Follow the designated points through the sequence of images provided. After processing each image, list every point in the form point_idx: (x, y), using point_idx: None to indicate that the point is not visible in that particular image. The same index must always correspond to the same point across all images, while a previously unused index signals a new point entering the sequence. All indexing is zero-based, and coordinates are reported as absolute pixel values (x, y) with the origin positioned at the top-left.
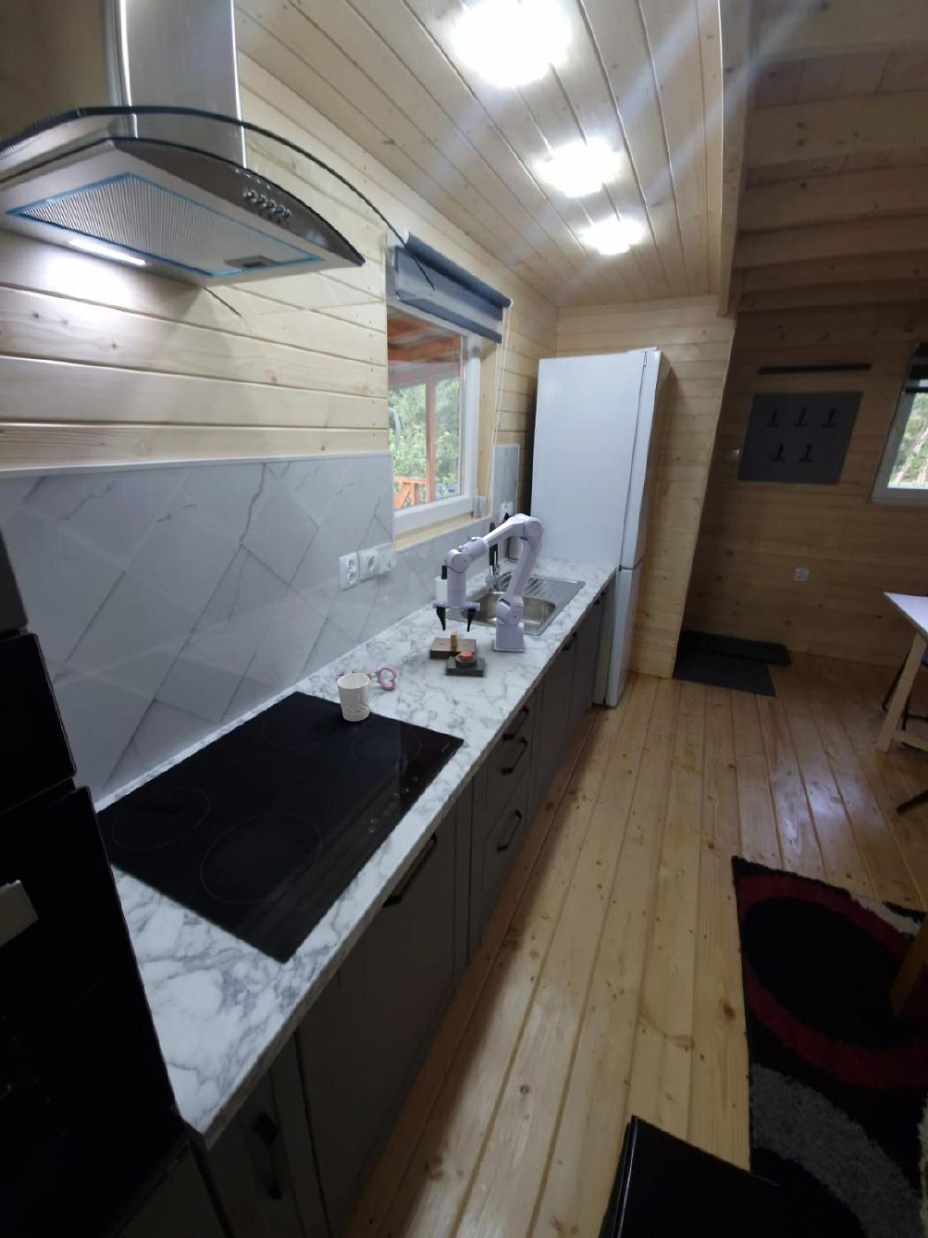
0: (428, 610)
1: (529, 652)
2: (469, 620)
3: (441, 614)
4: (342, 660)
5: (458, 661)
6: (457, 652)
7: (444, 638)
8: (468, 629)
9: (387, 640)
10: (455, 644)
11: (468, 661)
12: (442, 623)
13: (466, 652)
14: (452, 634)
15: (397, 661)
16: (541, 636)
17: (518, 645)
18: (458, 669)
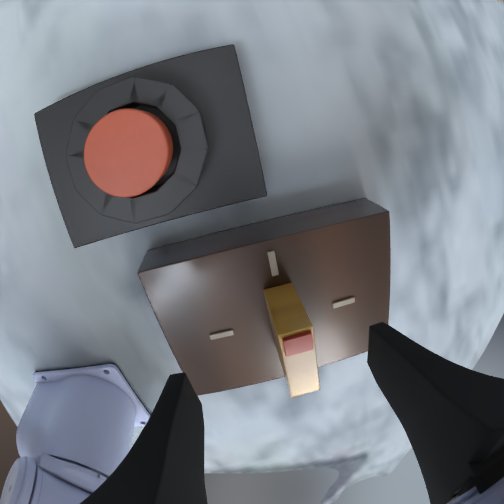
0: (397, 456)
1: (19, 374)
2: (144, 463)
3: (495, 408)
4: None
5: (164, 81)
6: (233, 245)
7: (344, 353)
8: (168, 389)
9: (500, 282)
10: (266, 300)
11: (100, 105)
12: (422, 354)
13: (127, 171)
14: (304, 343)
15: (467, 137)
16: None
17: (41, 392)
18: (161, 62)
